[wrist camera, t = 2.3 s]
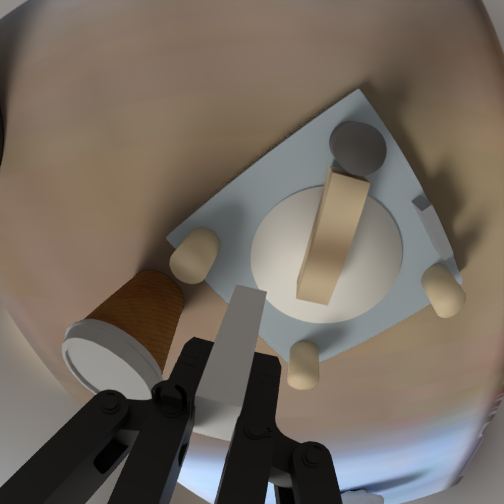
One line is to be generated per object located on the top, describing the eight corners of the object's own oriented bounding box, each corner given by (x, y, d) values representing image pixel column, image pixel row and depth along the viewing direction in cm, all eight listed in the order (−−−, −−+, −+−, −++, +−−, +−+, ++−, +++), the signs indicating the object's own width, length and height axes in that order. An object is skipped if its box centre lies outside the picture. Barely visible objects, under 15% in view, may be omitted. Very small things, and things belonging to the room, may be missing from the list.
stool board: (171, 231, 27) (145, 259, 22) (355, 89, 19) (372, 84, 14) (298, 362, 32) (296, 400, 28) (456, 274, 25) (479, 306, 20)
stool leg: (334, 115, 19) (341, 116, 16) (379, 128, 19) (392, 132, 16) (292, 278, 25) (290, 300, 22) (330, 286, 25) (333, 309, 22)
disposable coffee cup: (176, 247, 28) (113, 330, 17) (212, 324, 31) (177, 416, 21) (105, 265, 30) (40, 333, 20) (142, 331, 34) (98, 406, 23)
